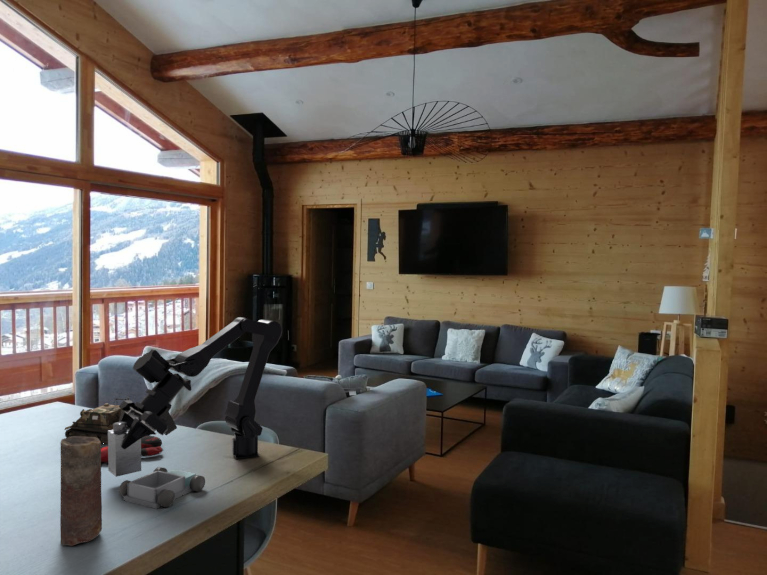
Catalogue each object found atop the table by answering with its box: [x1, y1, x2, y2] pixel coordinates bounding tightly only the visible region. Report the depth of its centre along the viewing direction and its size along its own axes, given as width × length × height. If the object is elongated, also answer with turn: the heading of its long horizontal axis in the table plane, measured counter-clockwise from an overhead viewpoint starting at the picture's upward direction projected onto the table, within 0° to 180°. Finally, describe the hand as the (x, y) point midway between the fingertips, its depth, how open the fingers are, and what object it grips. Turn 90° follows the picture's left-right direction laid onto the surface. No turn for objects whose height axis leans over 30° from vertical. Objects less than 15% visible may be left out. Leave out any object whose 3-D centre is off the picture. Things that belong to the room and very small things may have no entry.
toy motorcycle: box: [101, 435, 163, 464], centre depth 164 cm, size 25×5×16 cm
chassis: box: [118, 466, 206, 509], centre depth 139 cm, size 14×14×4 cm
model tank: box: [64, 397, 130, 446], centre depth 181 cm, size 13×22×15 cm, turn 81°
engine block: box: [107, 422, 142, 478], centre depth 145 cm, size 6×6×12 cm
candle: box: [59, 436, 103, 547], centre depth 116 cm, size 8×7×20 cm
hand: (118, 445), depth 144 cm, fingers closed on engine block, 5 cm apart
